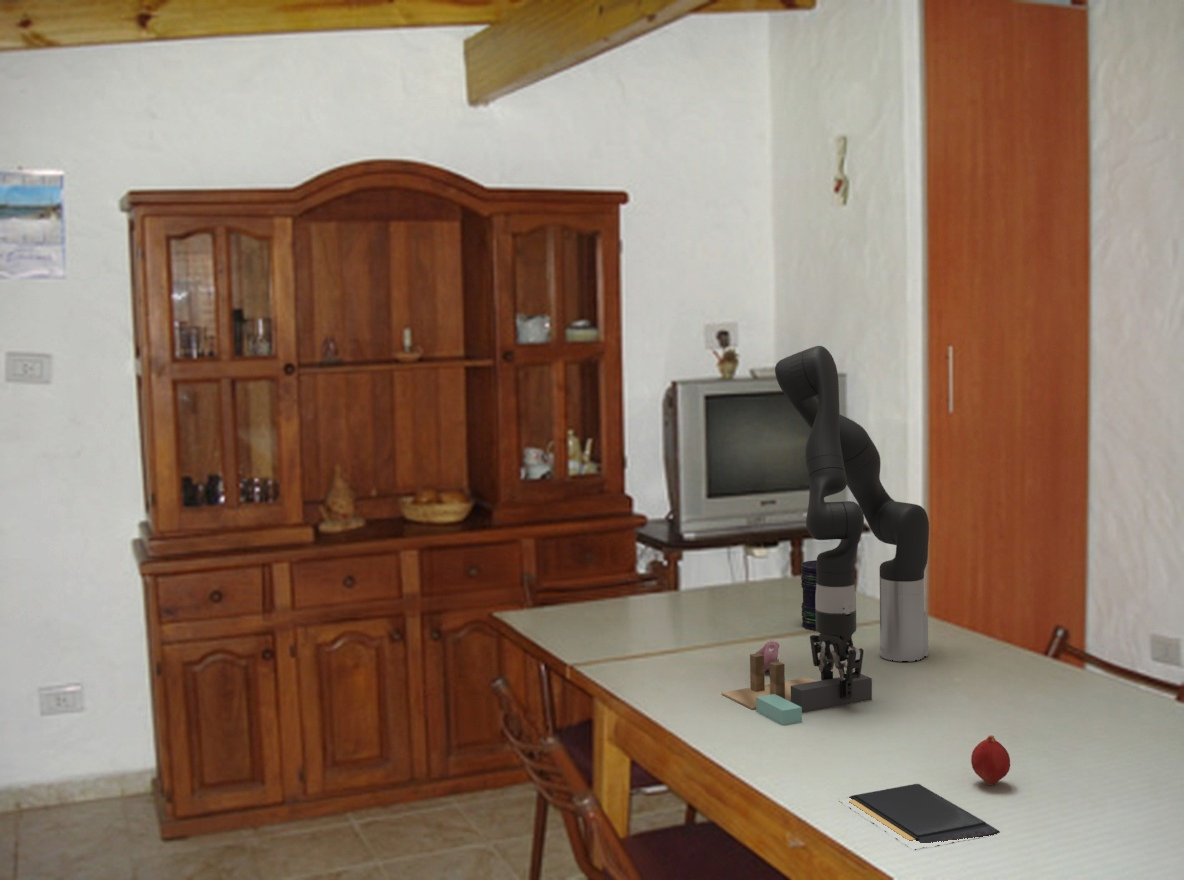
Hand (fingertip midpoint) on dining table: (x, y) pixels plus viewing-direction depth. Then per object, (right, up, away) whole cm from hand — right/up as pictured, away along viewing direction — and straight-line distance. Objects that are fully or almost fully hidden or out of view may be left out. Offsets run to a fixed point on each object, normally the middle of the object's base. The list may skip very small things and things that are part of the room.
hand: (836, 694), depth 234 cm
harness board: (-10, -1, +7) cm, 12 cm away
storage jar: (+8, +4, +58) cm, 59 cm away
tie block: (-12, -3, -7) cm, 14 cm away
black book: (+1, -8, -53) cm, 54 cm away
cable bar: (-1, -2, 0) cm, 2 cm away
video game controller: (-10, 0, +24) cm, 26 cm away
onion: (+16, -6, -42) cm, 45 cm away
